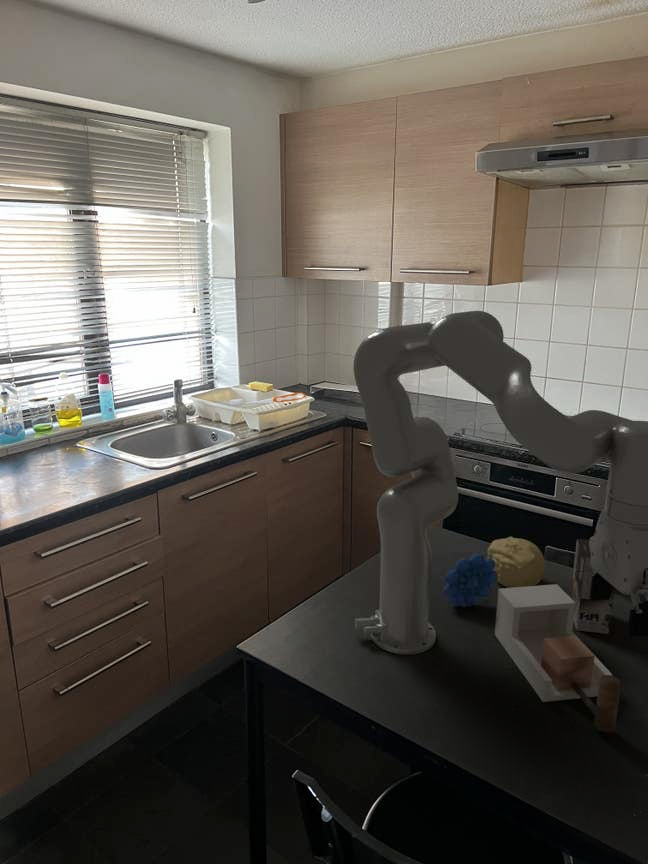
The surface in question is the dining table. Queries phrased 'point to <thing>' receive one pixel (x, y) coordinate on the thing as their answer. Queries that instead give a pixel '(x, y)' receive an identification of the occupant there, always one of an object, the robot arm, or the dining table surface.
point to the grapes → (470, 580)
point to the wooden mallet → (581, 677)
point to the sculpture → (517, 562)
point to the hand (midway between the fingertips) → (617, 616)
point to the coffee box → (588, 595)
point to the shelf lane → (539, 634)
